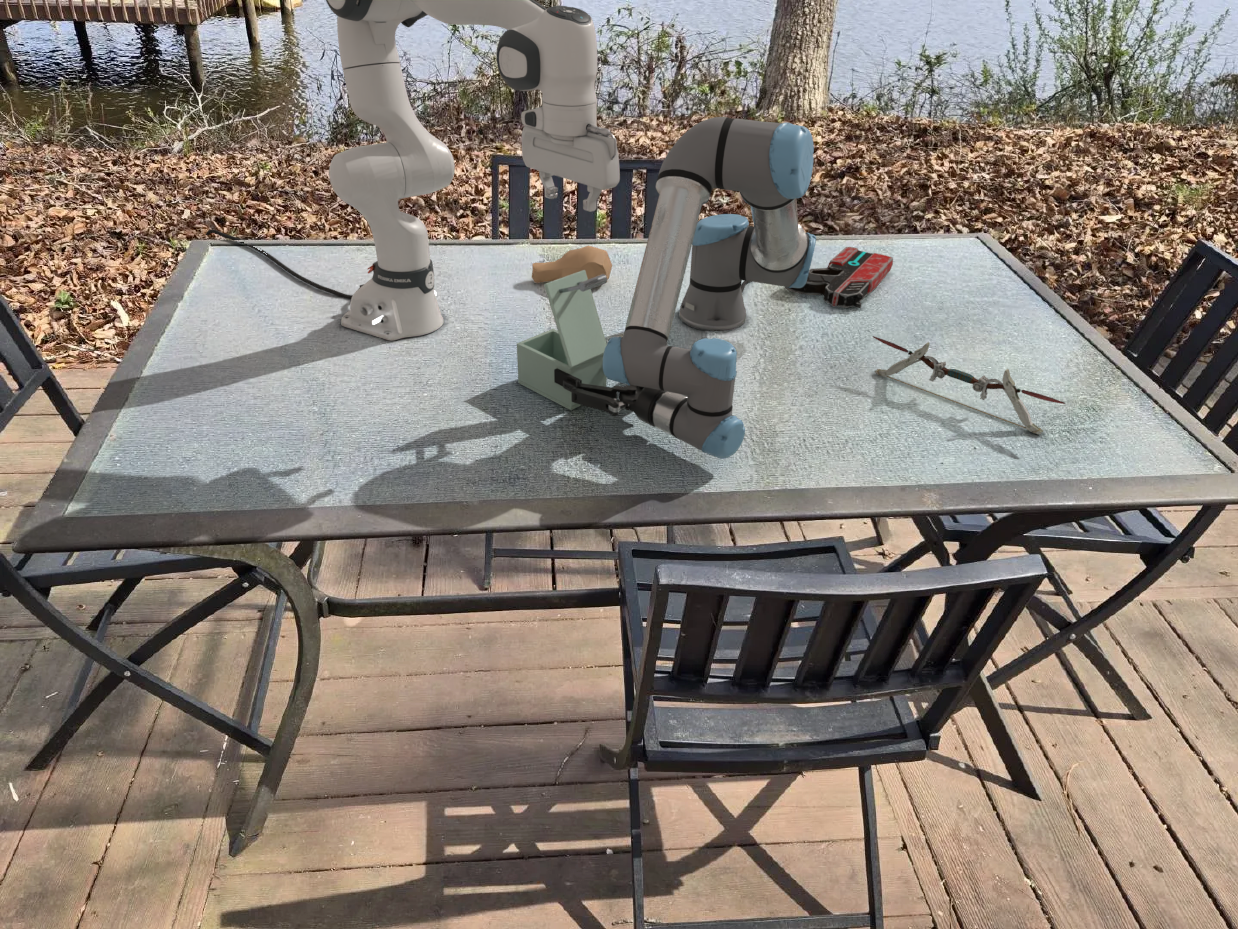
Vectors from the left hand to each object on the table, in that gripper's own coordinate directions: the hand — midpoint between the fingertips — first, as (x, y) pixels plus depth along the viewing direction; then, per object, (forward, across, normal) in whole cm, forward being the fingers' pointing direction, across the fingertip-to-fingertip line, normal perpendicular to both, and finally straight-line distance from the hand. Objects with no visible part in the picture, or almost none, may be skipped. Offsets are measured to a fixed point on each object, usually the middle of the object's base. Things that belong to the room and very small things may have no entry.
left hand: (570, 203), depth 151 cm
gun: (+37, -7, -88) cm, 96 cm away
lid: (+21, -1, 0) cm, 21 cm away
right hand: (+31, -1, 0) cm, 31 cm away
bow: (+37, -55, -51) cm, 84 cm away
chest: (+37, +3, 0) cm, 37 cm away
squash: (+37, +40, -39) cm, 67 cm away
